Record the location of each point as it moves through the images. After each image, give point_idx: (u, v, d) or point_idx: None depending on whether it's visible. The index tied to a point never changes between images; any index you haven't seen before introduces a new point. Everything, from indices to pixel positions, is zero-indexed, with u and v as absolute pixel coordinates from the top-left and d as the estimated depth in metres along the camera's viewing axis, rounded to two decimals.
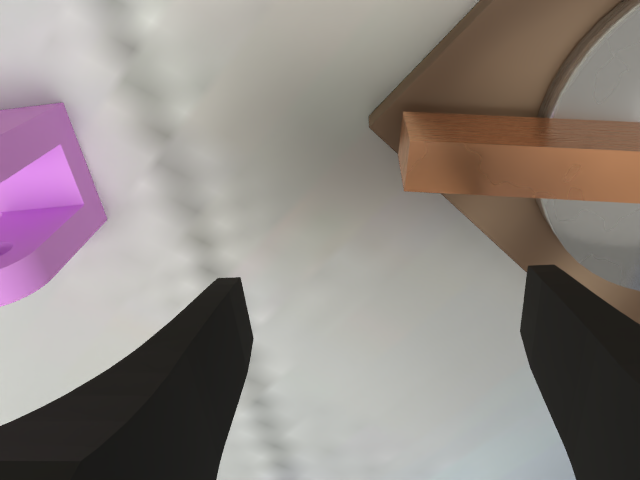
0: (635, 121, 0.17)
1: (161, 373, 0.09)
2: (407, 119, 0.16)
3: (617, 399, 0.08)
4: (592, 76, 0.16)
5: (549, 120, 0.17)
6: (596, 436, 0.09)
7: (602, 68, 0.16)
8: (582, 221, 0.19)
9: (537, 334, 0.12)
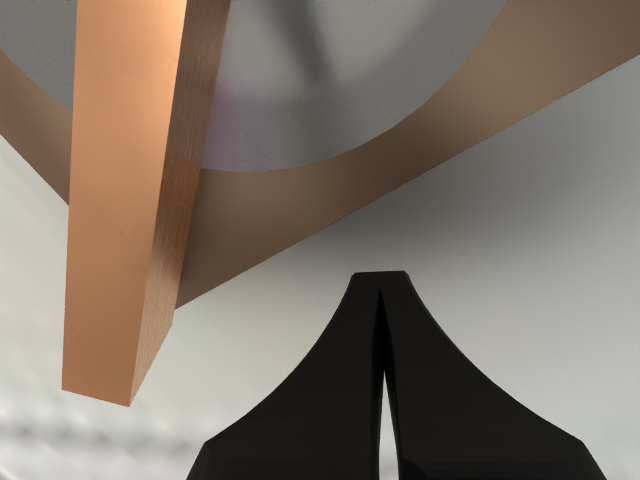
0: None
1: (359, 369, 0.09)
2: None
3: (396, 401, 0.09)
4: None
5: None
6: (397, 436, 0.09)
7: (65, 82, 0.11)
8: (311, 116, 0.11)
9: (383, 338, 0.12)
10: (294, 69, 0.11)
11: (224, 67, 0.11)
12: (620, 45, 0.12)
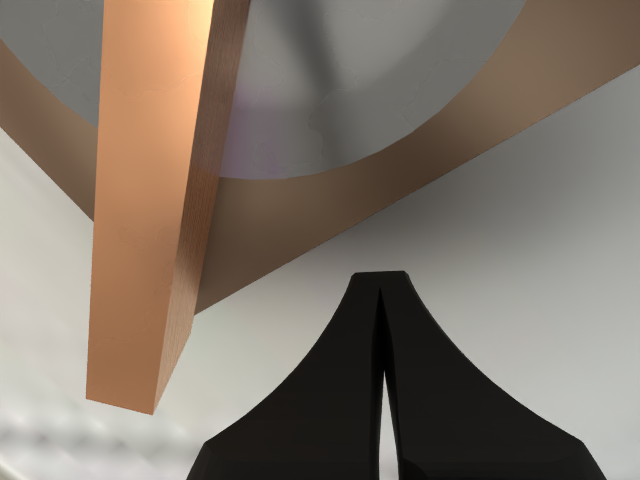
0: None
1: (359, 369, 0.09)
2: None
3: (396, 402, 0.09)
4: (96, 107, 0.11)
5: None
6: (397, 437, 0.09)
7: (85, 94, 0.11)
8: (329, 124, 0.11)
9: (383, 338, 0.12)
10: (312, 77, 0.11)
11: (242, 77, 0.11)
12: (637, 46, 0.12)
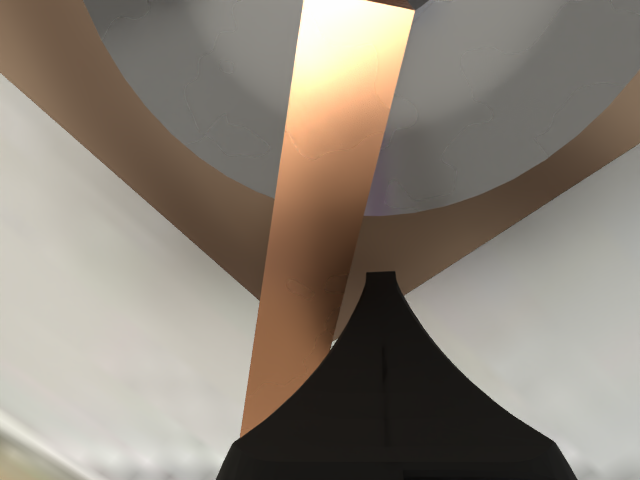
0: None
1: (381, 369, 0.09)
2: None
3: None
4: (232, 159, 0.12)
5: None
6: None
7: (222, 148, 0.12)
8: (463, 157, 0.11)
9: None
10: (448, 114, 0.11)
11: None
12: None
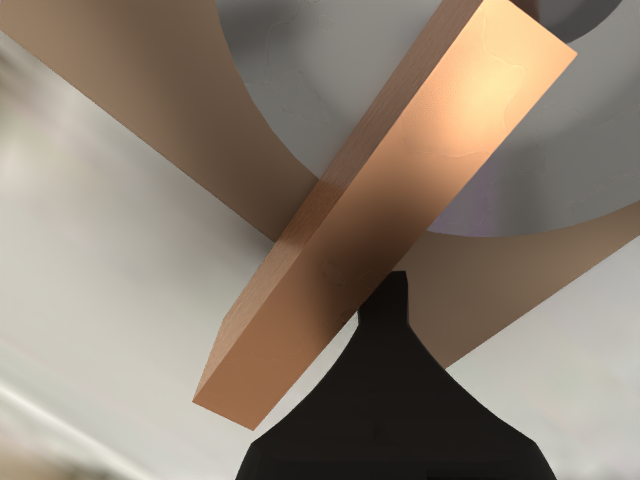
0: (386, 82, 0.11)
1: (396, 368, 0.08)
2: (216, 338, 0.13)
3: None
4: (286, 116, 0.11)
5: (313, 191, 0.12)
6: None
7: (281, 101, 0.11)
8: (502, 198, 0.12)
9: None
10: (508, 154, 0.11)
11: None
12: None
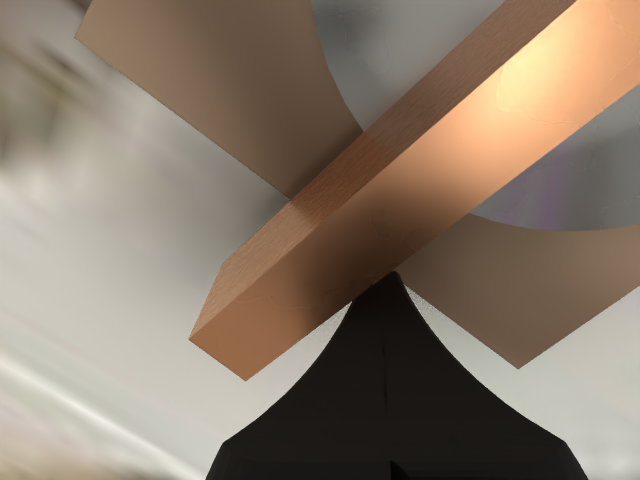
0: (460, 42, 0.10)
1: (373, 369, 0.09)
2: (216, 281, 0.12)
3: None
4: (347, 57, 0.10)
5: (356, 143, 0.11)
6: None
7: (346, 40, 0.10)
8: (541, 189, 0.12)
9: None
10: (559, 144, 0.11)
11: None
12: None
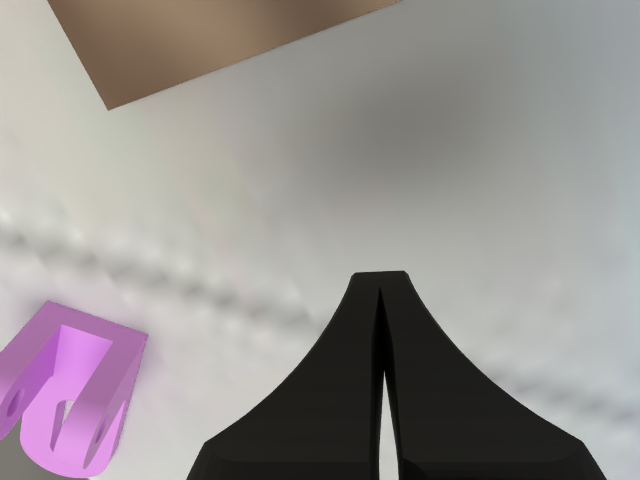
0: None
1: (359, 370, 0.09)
2: None
3: (396, 401, 0.09)
4: None
5: None
6: (397, 436, 0.09)
7: None
8: None
9: (383, 338, 0.12)
10: None
11: None
12: None
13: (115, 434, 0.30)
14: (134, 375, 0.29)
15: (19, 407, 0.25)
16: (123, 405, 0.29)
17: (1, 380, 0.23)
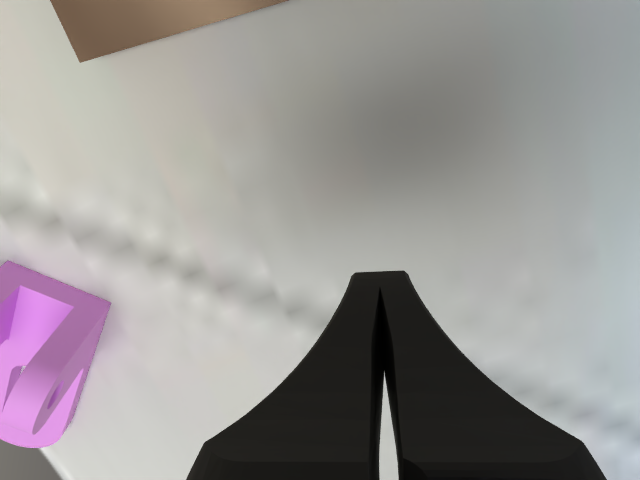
0: None
1: (359, 369, 0.09)
2: None
3: (396, 401, 0.09)
4: None
5: None
6: (397, 437, 0.09)
7: None
8: None
9: (383, 338, 0.12)
10: None
11: None
12: None
13: (71, 404, 0.30)
14: (94, 344, 0.28)
15: None
16: (81, 374, 0.28)
17: None
